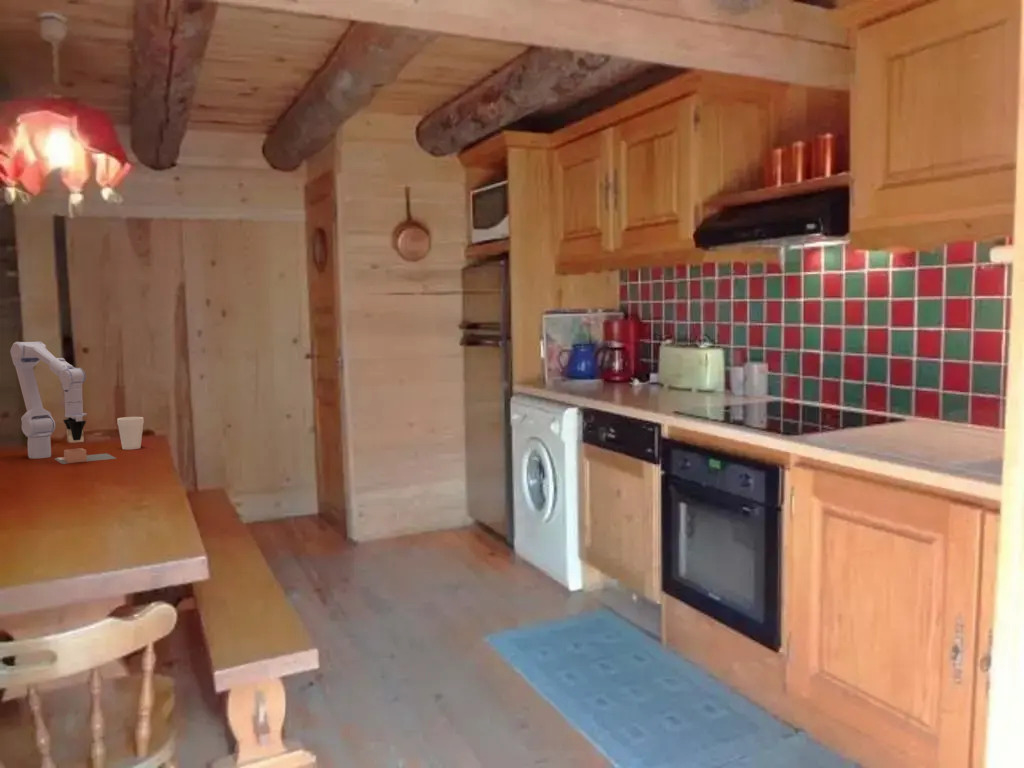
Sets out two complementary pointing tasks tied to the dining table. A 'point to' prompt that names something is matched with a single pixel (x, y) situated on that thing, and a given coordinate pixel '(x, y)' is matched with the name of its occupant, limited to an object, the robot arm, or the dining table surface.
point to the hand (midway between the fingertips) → (75, 439)
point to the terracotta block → (75, 455)
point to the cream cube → (70, 438)
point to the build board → (92, 458)
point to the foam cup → (130, 431)
